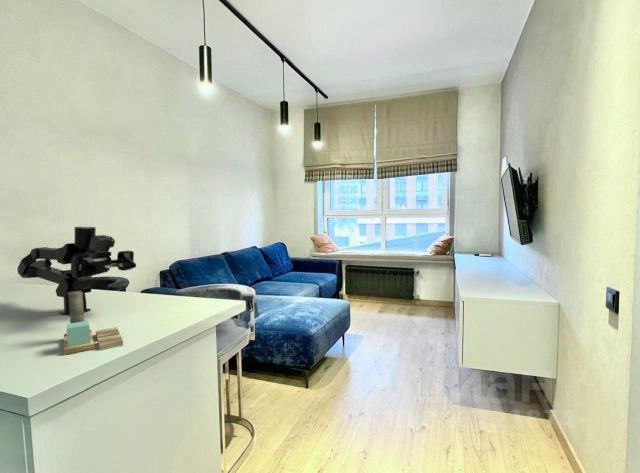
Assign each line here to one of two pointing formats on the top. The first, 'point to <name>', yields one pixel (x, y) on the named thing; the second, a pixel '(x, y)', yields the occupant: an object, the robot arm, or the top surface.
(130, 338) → the top surface
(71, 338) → the cube
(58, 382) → the top surface
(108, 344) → the beige rectangular block
